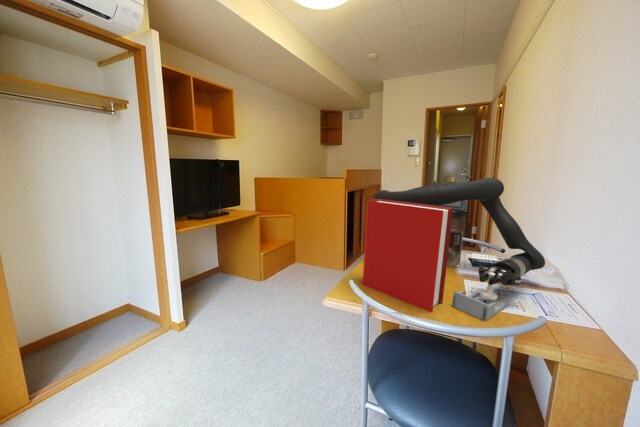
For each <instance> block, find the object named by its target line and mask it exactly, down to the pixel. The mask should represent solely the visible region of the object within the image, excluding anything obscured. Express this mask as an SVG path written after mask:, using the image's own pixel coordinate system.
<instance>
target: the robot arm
mask: <svg viewBox="0 0 640 427" xmlns="http://www.w3.org/2000/svg"><path fill="white" fill-rule="evenodd" d="M504 191H505V186H504V183H503V182H502V181H501V180H500V179H498V178H494V177H485V178H480V179H477V180H471V181H466V182H455V183H453V182H452V183H451V182H449V183H438V184H431V185H424V186H418V187H414V188H411V189H407V190H403V191H402V190H399V191H390V190H385V189H382V190H379V191H378V192H377V193H376V194H375V195H374V196H373V198H372V199H384V200H393V201H401V202H409V203H417V204H426V205H434V206H445V205H450V204H454V203H458V202H462V201H463V202H464V201H473V200H477V201H479V203H480V204H481V205H482V206H483V208H484V209H485V210H486V212H487V213H488V215H489V216H490V217H491V219H492V221H493V223H494V224H495V226H496V227H497V228H496V229H497V230H498V232H499V234H500V235H501V237H502V238H503V241H504V242H505V245H506V246H507V247H508V249H510V250H522V251H523V252H520V253H516V254H514V255H513V254H512V255H511V256H510V257H509V258H505V259H502V260H500V261H498V262H495V263H494V264H493V265H492V266H488V267H485V266H484V265H482V264H480V265H479V266H478V275H479V282H480V283H484V282H488V283H487V284H489V285H492V286H493V285H496V284H497V285H499V284H501V286H520V285H521V283H522V282H521V281H522V276H524V275H526V274H527V273H528V272H529V271H534V270H540V269H543V268H544V267H545V265H546V259H545V257H544V256H543V254H542V253H541V252H540V251H539V250H537V248H536V247H535V246H534V245H533V244H532V243H531V242H530V241H529V240H528V239H527V237H526V235H525V233H524V232H523V230H522V228H521V226H520V225H519V223H518V222H517V221H516V219H515V218H514V217H513V216H512V215H511V214H510V213H509V212H508V210H507V209H506V208H505V206H504V204H503V203H502V201H501V199H500V197H501V196H502V195H503V192H504ZM491 268H494V269H495V271H493V273H495V276H493V277H491V278H489V275H488V273H489V272H491V271H489V269H491ZM487 279H489V281H488V280H487Z"/></svg>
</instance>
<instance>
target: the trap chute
mask: <svg viewBox="0 0 640 427" xmlns="http://www.w3.org/2000/svg"><path fill="white" fill-rule="evenodd" d="M480 293H481V291H475V293H472V294H470V295H466V290H462V291H456V290H455V291H453V296H452V297H453V298H452V304H451V306H452V307H453V308H455V309H458V310H460V311H462V312H464V313H466V314H468V315H471V316H473V317H475V318H477V319H479V320H481V321H484V322H485V321H488V320H489V319H491V318H492V317H494V316H495V315H497V314H498V313H500V312H502V311H503V310H505V309H507V308H508V307H510V306H509V305H511V303H510V302H505V303H503V304H502V305H500V306H499V307H497V308H496V305H497V303H496V302H495V301H492V302H490V303H488V304H487V303H486V302H483V301H481V300H478V299H476V297H478V296H481V295H480ZM507 306H508V307H507ZM506 307H507V308H506ZM504 308H505V309H504ZM501 310H502V311H501Z"/></svg>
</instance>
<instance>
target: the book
mask: <svg viewBox="0 0 640 427" xmlns="http://www.w3.org/2000/svg"><path fill="white" fill-rule="evenodd" d="M366 204H367V205H366V218H365V219H366V220H365V237H364V238H365V239H364V252H363V253H364V254H363V255H364V256H363V267H362V268H363V272H362V285H363V286H364V287H367V288H369V289H372V290H375V291H377V292H380V293H382V294H384V295H387V296H389V297H391V298H392V297H393V298H394V299H398V300H400V301H402V302H405V303H408V304H410V305H413V306H414V307H415V306H416V308H417V307H418V308H420V309H423V310H425V311H428V312H430V313H433V311H434V306H436V305H437V304H443V301H444V292H445V283H446V277H447V276H446V274H447V266H448V265H447V259H448V250H449V242H450V233H451V229H452V224H453V223H452V222H453V214H454V207H449V206H448V207H447V206H443V205H440V206H434V205H426V204H417V203H409V202H401V201H393V200H384V199H373V198H371V199H367V203H366Z"/></svg>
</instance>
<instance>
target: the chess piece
mask: <svg viewBox="0 0 640 427" xmlns="http://www.w3.org/2000/svg"><path fill="white" fill-rule="evenodd" d="M489 271H491V272H489V273H488V275H489V278H491V277H493V276H495V273H493V271H495V269H494V268H491V269H489ZM487 282H489V279H487ZM487 284H488V283H487ZM480 292H481V293H480V295H479V296H481V297H483V298H484V299H486V300H487V299H488V300H493V301H494V300H497V299H498V295H497V293H495V292H494V291H493V285H489V284H488V285H487V287H486V289H485V290H481V291H480Z"/></svg>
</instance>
